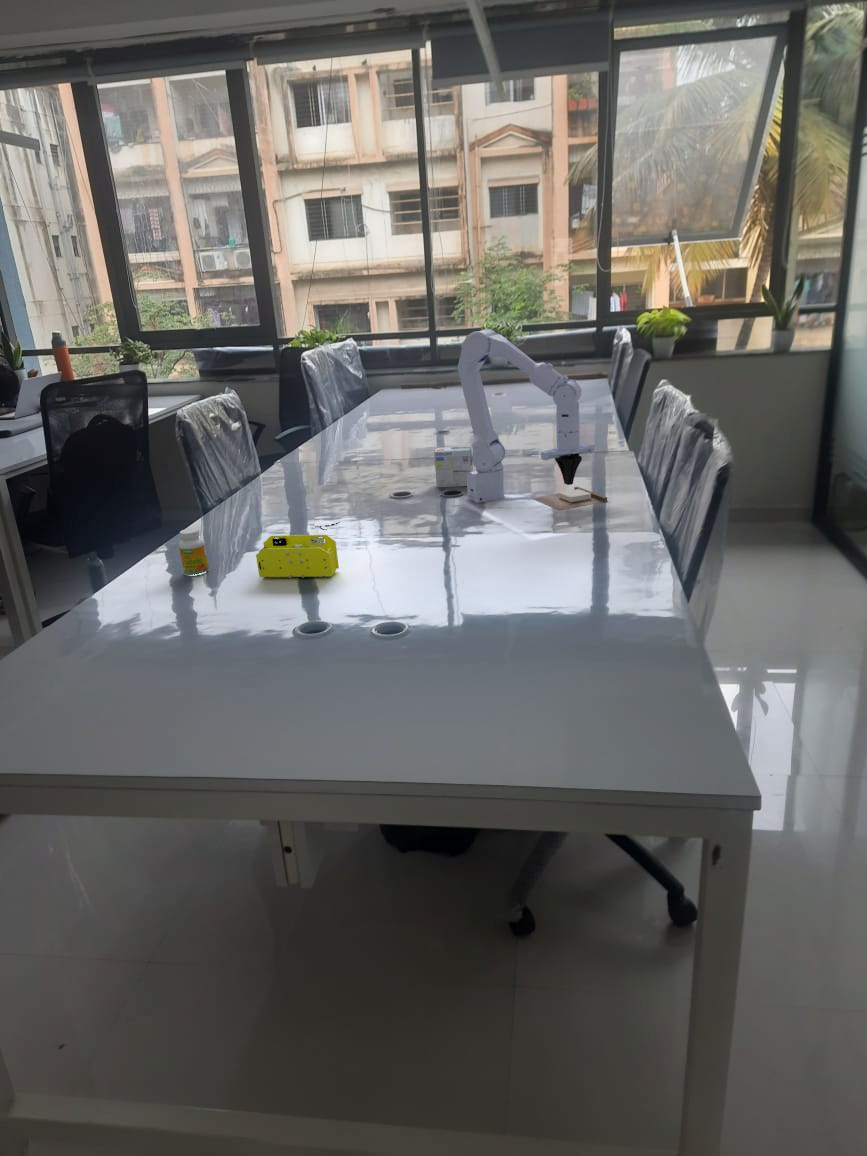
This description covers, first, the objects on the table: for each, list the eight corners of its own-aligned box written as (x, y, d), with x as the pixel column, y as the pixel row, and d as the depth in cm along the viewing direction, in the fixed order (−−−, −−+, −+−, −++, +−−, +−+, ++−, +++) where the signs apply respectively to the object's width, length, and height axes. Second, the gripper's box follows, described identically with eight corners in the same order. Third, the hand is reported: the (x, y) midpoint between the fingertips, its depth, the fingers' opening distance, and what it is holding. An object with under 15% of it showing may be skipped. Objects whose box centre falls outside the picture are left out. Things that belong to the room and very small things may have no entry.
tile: (570, 497, 200) (591, 493, 202) (558, 492, 206) (578, 488, 208) (570, 503, 201) (591, 499, 203) (558, 498, 206) (578, 494, 208)
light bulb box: (473, 480, 236) (471, 445, 232) (472, 486, 230) (470, 449, 226) (438, 482, 237) (435, 446, 234) (436, 488, 231) (433, 451, 227)
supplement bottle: (184, 578, 171) (175, 535, 168) (184, 571, 176) (176, 529, 172) (209, 574, 172) (201, 532, 169) (209, 567, 177) (201, 525, 174)
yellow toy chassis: (339, 571, 169) (335, 533, 166) (332, 580, 164) (327, 542, 161) (269, 571, 172) (263, 535, 169) (259, 581, 167) (253, 543, 164)
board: (559, 514, 196) (559, 506, 195) (531, 502, 208) (531, 494, 207) (607, 505, 201) (607, 497, 200) (577, 494, 213) (577, 486, 212)
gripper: (550, 437, 192) (551, 491, 197) (601, 429, 197) (601, 482, 201) (536, 433, 198) (537, 485, 203) (586, 425, 203) (586, 477, 208)
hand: (568, 483), depth 202 cm, fingers closed
